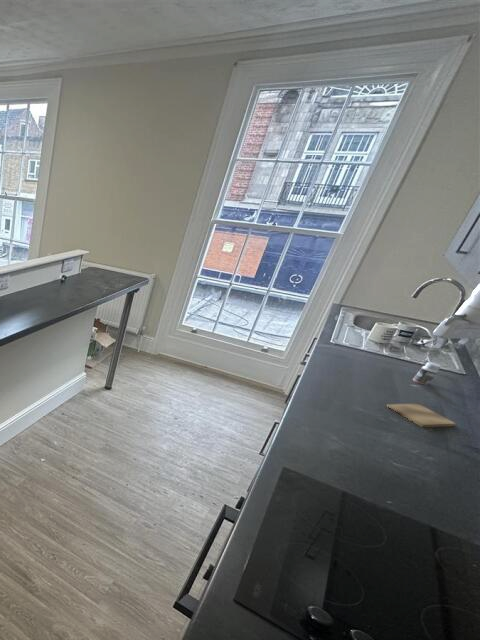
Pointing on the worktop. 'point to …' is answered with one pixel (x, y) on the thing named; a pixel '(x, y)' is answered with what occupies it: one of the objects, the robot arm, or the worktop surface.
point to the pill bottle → (427, 373)
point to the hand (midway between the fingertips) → (447, 347)
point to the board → (421, 415)
